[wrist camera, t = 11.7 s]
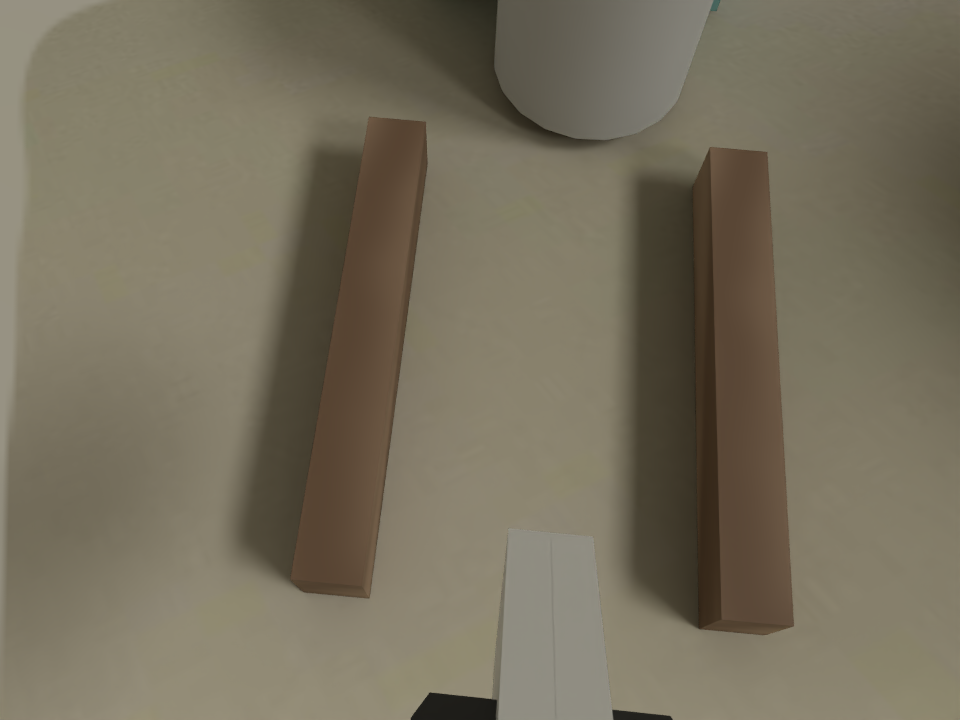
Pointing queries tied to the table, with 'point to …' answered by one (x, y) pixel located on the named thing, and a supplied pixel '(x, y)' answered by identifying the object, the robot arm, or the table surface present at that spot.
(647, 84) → the can
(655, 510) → the table surface
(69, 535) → the table surface
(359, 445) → the chute
